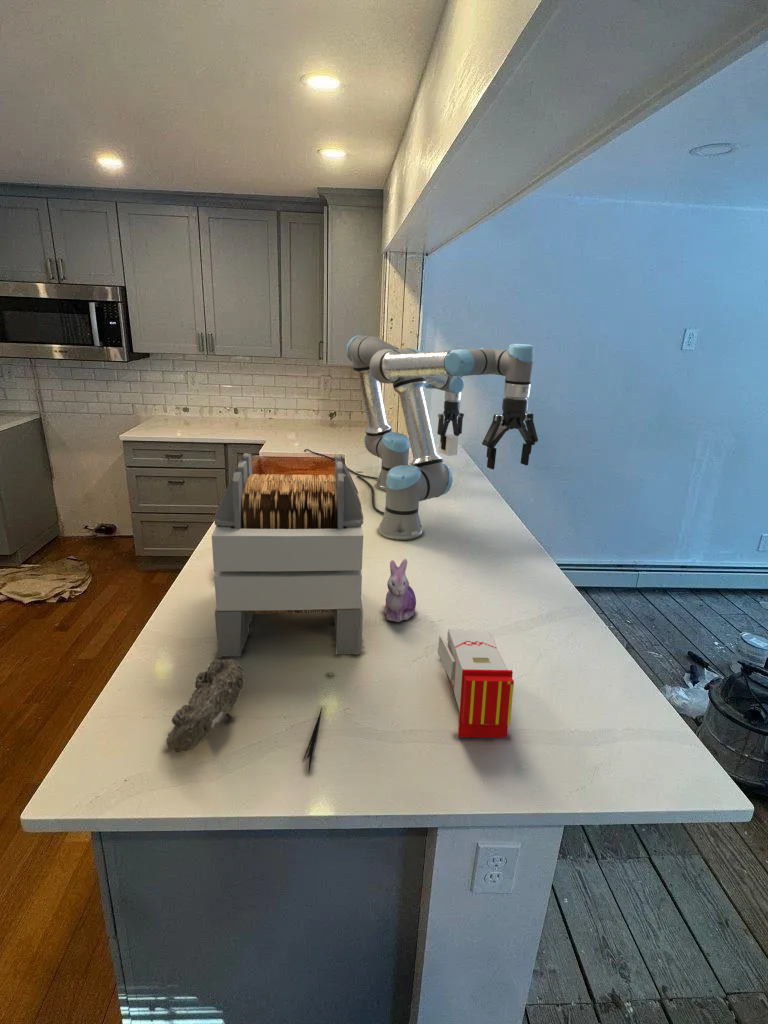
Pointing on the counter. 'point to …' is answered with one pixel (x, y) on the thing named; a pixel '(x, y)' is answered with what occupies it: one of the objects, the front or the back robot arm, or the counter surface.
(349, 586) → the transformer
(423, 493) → the front robot arm
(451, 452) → the block
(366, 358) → the back robot arm
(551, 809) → the counter surface
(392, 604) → the figurine
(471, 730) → the toy
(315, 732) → the dark thin pointed pieces
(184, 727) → the fossil
